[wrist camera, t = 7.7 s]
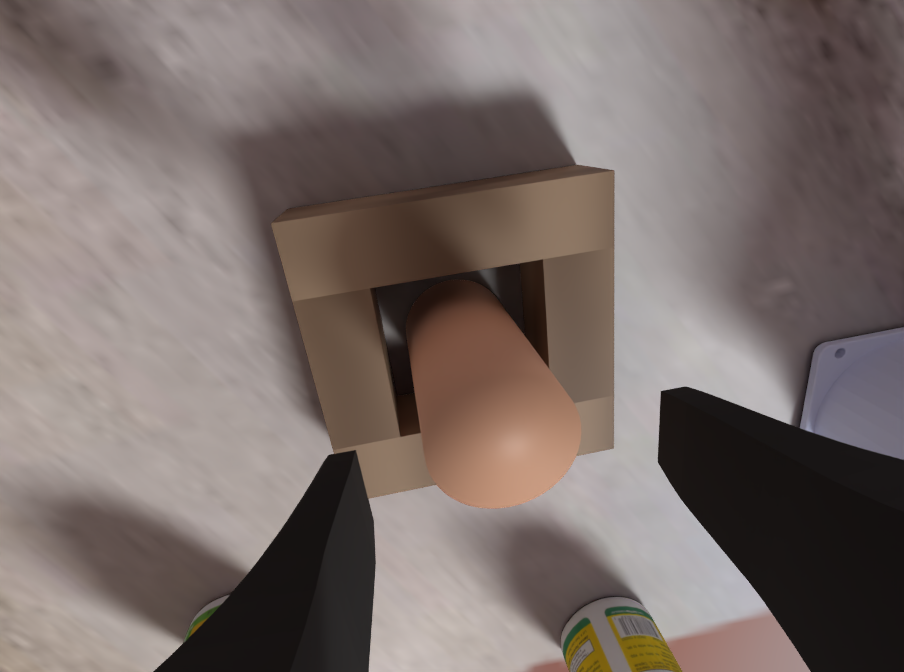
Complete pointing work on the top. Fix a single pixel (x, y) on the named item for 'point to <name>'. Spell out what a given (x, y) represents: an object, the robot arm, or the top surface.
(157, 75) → the top surface
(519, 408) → the peg
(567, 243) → the socket
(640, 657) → the supplement bottle
